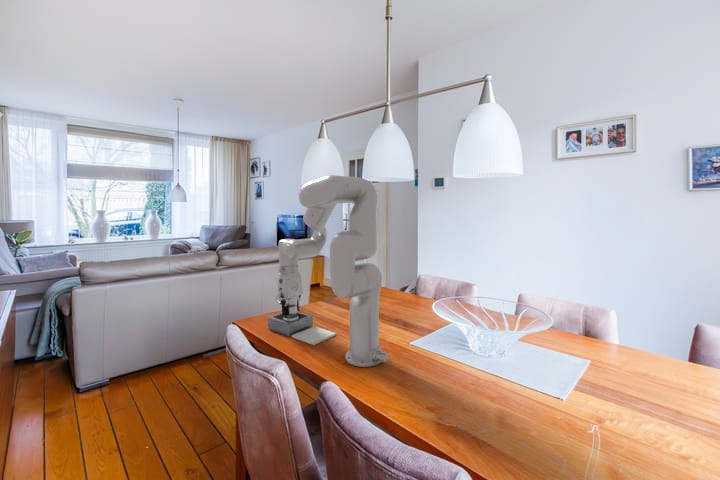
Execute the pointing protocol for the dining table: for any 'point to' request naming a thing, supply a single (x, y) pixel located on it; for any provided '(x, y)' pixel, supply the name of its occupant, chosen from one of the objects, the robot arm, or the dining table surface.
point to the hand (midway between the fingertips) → (290, 312)
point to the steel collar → (290, 324)
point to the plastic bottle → (292, 309)
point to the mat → (313, 335)
